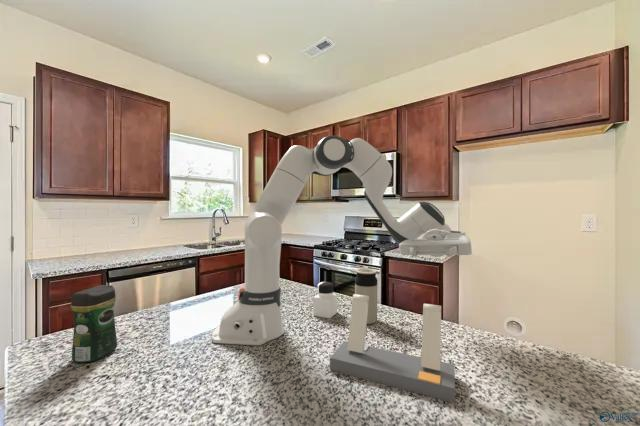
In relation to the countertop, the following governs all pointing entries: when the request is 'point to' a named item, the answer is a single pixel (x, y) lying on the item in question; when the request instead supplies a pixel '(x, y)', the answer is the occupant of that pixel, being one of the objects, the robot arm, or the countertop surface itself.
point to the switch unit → (396, 371)
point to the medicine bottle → (325, 301)
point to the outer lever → (431, 336)
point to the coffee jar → (93, 323)
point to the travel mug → (368, 291)
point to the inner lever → (358, 323)
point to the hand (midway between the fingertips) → (430, 253)
